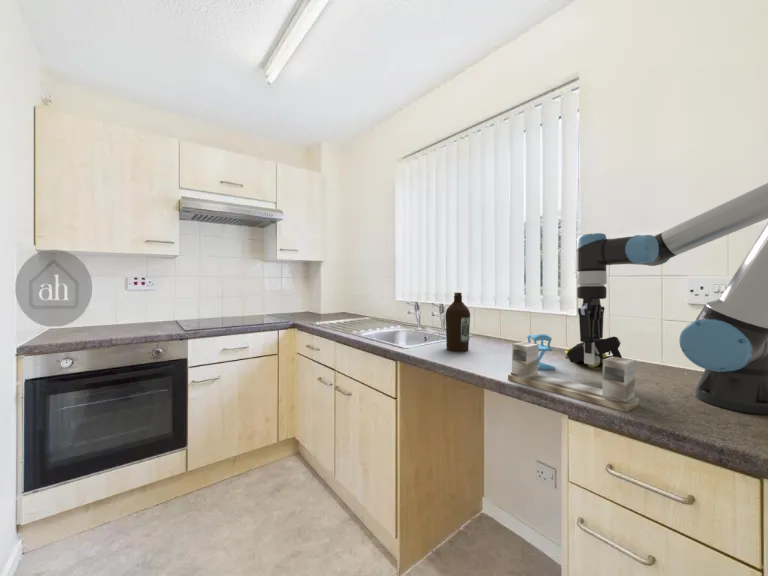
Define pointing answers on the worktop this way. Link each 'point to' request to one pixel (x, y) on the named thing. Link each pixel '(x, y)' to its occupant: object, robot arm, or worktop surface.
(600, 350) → the gun
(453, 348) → the olive oil
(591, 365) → the plastic component
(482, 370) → the worktop surface
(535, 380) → the board
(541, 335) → the chair
